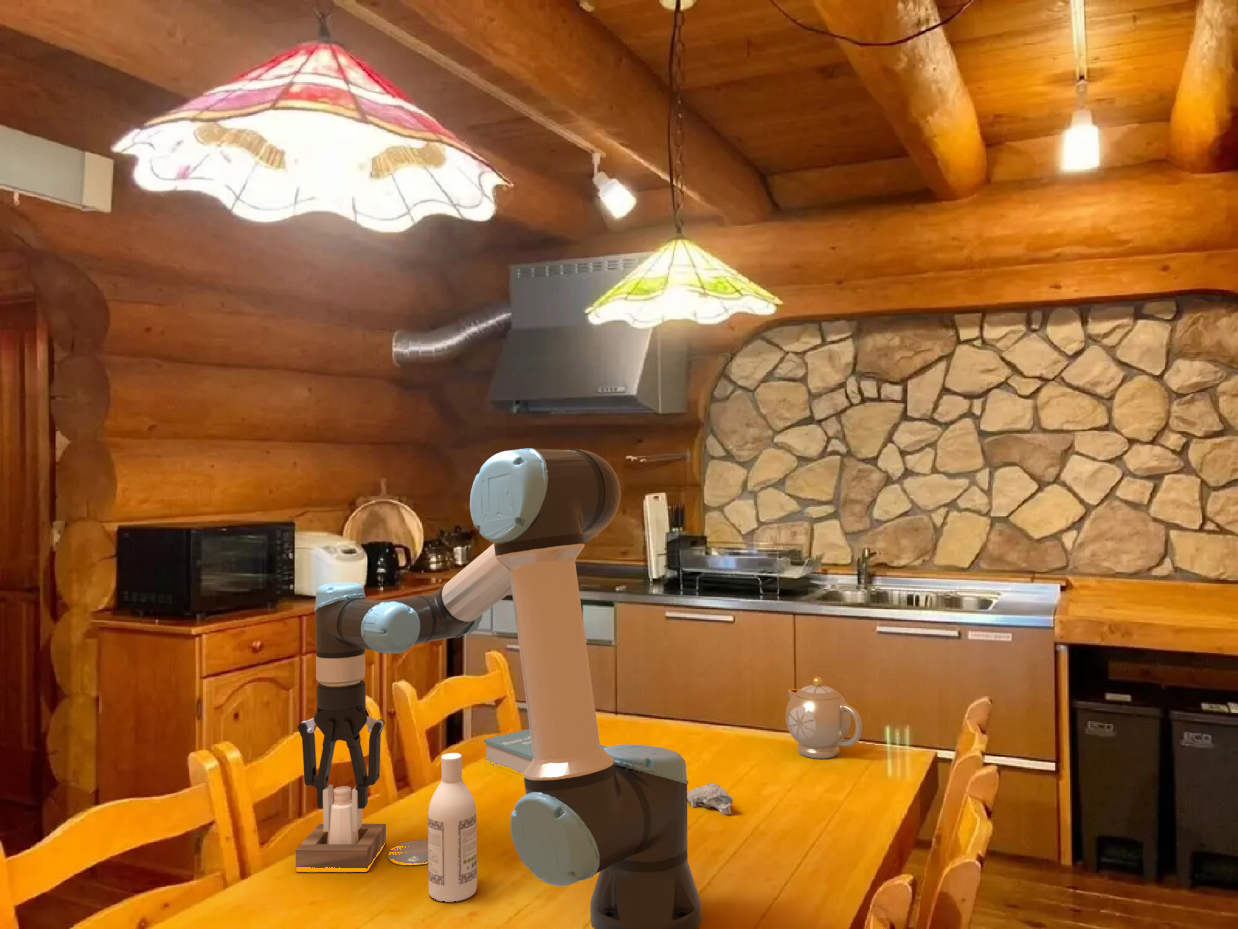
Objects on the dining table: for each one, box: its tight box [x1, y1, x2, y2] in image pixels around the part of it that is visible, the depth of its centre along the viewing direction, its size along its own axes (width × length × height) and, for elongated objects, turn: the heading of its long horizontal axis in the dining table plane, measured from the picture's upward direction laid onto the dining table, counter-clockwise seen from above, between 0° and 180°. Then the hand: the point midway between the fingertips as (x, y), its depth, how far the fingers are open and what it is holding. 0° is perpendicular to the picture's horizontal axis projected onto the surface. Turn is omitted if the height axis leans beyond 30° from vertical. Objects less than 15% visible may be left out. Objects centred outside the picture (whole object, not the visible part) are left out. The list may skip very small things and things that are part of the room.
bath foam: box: [427, 752, 478, 903], centre depth 144 cm, size 7×7×20 cm
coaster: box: [387, 839, 428, 864], centre depth 158 cm, size 9×9×1 cm
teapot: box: [785, 676, 863, 760], centre depth 209 cm, size 18×14×16 cm
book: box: [483, 728, 608, 773], centre depth 204 cm, size 23×16×5 cm
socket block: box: [295, 823, 387, 869], centre depth 157 cm, size 11×11×4 cm
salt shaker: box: [327, 785, 359, 844], centre depth 157 cm, size 5×5×11 cm
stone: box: [687, 782, 734, 816], centre depth 179 cm, size 6×12×4 cm, turn 15°
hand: (342, 828), depth 157 cm, fingers closed on salt shaker, 4 cm apart
